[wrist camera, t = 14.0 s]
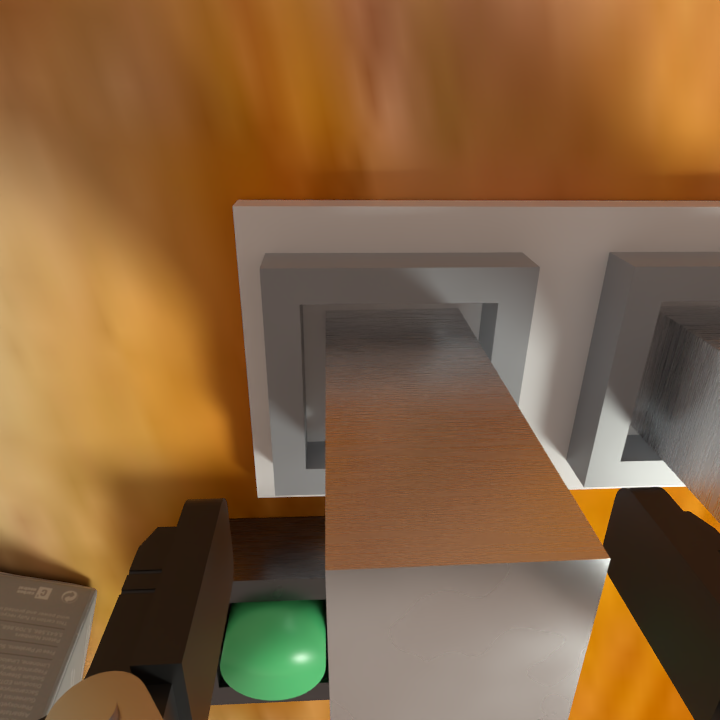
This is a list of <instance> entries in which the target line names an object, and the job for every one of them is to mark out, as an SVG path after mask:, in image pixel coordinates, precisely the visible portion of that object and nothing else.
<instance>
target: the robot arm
mask: <svg viewBox="0 0 720 720" xmlns="http://www.w3.org/2000/svg"><path fill="white" fill-rule="evenodd" d="M603 547H604V549H605V550H606V552H607V554H608V555H609V557H610V563H609V566H608V570H607V573H608V575H609V577H610V579H611V580H612V582H613V584H614V585H615V587H616V589H617V590H618V592H619V594H620V595H621V597H622V599H623V601H624V602H625V604H626V606H627V607H628V609H629V611H630V612H631V614H632V616H633V617H634V619H635V621H636V622H637V624H638V626H639V627H640V629H641V631H642V632H643V634H644V636H645V637H646V639H647V641H648V642H649V644H650V646H651V647H652V649H653V651H654V653H655V654H656V656H657V658H658V659H659V661H660V663H661V664H662V666H663V668H664V669H665V671H666V673H667V674H668V676H669V678H670V679H671V681H672V683H673V684H674V686H675V688H676V689H677V691H678V693H679V694H680V696H681V698H682V699H683V701H684V703H685V705H686V706H687V708H688V710H689V711H690V713H691V715H692V716H693V718H694V720H720V533H719V532H718V531H717V530H716V529H715V528H713V527H712V526H710V525H709V524H707V523H706V522H705V521H703V520H702V519H700V518H699V517H697V516H696V515H694V514H693V513H691V512H690V511H683V510H682V509H681V508H680V507H679V506H678V505H677V503H676V502H675V501H674V500H673V499H672V498H671V496H670V495H669V494H668V493H667V492H666V491H665V490H664V489H662V488H660V487H632V488H621V489H620V490H619V491H618V492H617V494H616V497H615V500H614V504H613V508H612V512H611V516H610V520H609V523H608V527H607V531H606V535H605V539H604V543H603ZM233 569H234V562H233V550H232V541H231V532H230V523H229V514H228V506H227V501H226V499H225V498H220V499H188V500H187V501H186V502H185V504H184V507H183V510H182V513H181V516H180V519H179V522H178V524H177V527H158V528H157V529H156V530H155V531H154V532H153V533H152V534H151V535H150V536H149V537H148V538H147V539H146V540H145V541H144V542H143V543H142V545H141V546H140V547H139V548H138V551H137V553H136V555H135V558H134V560H133V563H132V565H131V568H130V570H129V575H127V578H126V580H125V582H124V585H123V587H122V593H121V595H119V597H118V600H117V602H116V605H115V607H114V609H113V612H112V614H111V617H110V619H109V622H108V624H107V627H106V629H105V631H104V634H103V636H102V639H101V641H100V644H99V646H98V649H97V651H96V654H95V656H94V658H93V661H92V663H91V666H90V668H89V670H88V672H87V675H86V677H85V678H84V680H82V681H80V682H79V683H77V684H76V685H74V686H73V687H71V688H70V689H69V690H68V691H67V692H65V693H64V694H63V695H62V696H61V697H60V698H59V699H58V700H57V702H56V703H55V704H54V706H53V707H52V708H51V710H50V711H49V713H48V715H46V716H44V717H42V718H41V719H39V720H208V716H209V710H210V705H211V700H212V694H213V689H214V683H215V678H216V672H217V667H218V662H219V656H220V651H221V645H222V640H223V634H224V629H225V624H226V618H227V613H228V607H229V602H230V596H231V591H232V584H233Z"/></svg>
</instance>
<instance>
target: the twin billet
mask: <svg viewBox="0 0 720 720" xmlns="http://www.w3.org/2000/svg"><path fill="white" fill-rule="evenodd" d="M630 425H631V426H632V427H633V428H634V429H635V431H636V432H637V433H638V434H639V435H640V436H641V437H642V438H643V439H644V440H645V442H646V443H647V444H648V445H649V446H650V447H651V448H652V449H653V450H654V451H655V453H656V454H657V455H658V456H659V457H660V458H661V459H662V460H663V461H664V462H665V464H666V465H667V466H668V467H669V468H670V469H671V470H672V471H673V472H674V473H675V474H676V476H677V477H678V478H679V479H680V480H681V481H682V482H683V483H684V484H685V485H686V487H687V488H688V489H689V490H690V491H691V492H692V493H693V494H694V495H695V496H696V498H697V499H698V500H699V501H700V502H701V503H702V504H703V505H704V506H705V507H706V509H707V510H708V511H709V512H710V513H711V514H712V515H713V516H714V517H715V518H716V520H717V521H718V522H719V523H720V306H661V308H660V311H659V315H658V319H657V323H656V327H655V331H654V334H653V338H652V342H651V346H650V350H649V353H648V357H647V361H646V365H645V369H644V373H643V376H642V380H641V384H640V388H639V392H638V396H637V399H636V403H635V407H634V411H633V415H632V419H631V422H630Z"/></svg>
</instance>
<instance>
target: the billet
mask: <svg viewBox="0 0 720 720" xmlns="http://www.w3.org/2000/svg"><path fill="white" fill-rule="evenodd" d="M609 563H610V557H609V555H608V554H607V552H606V550H605V549H604V547H603V545H602V544H601V542H600V541H599V539H598V537H597V536H596V534H595V532H594V531H593V529H592V527H591V526H590V524H589V522H588V521H587V519H586V517H585V516H584V514H583V513H582V511H581V509H580V508H579V506H578V504H577V503H576V501H575V499H574V498H573V496H572V494H571V493H570V491H569V489H568V488H567V486H566V485H565V483H564V481H563V480H562V478H561V476H560V475H559V473H558V471H557V470H556V468H555V466H554V465H553V463H552V461H551V460H550V458H549V457H548V455H547V453H546V452H545V450H544V448H543V447H542V445H541V443H540V442H539V440H538V438H537V437H536V435H535V434H534V432H533V430H532V429H531V427H530V425H529V424H528V422H527V420H526V419H525V417H524V415H523V414H522V412H521V410H520V409H519V407H518V406H517V404H516V402H515V401H514V399H513V397H512V396H511V394H510V392H509V391H508V389H507V387H506V386H505V384H504V382H503V381H502V379H501V378H500V376H499V374H498V373H497V371H496V369H495V368H494V366H493V364H492V363H491V361H490V359H489V358H488V356H487V354H486V353H485V351H484V350H483V348H482V346H481V345H480V343H479V341H478V340H477V338H476V336H475V335H474V333H473V331H472V330H471V328H470V326H469V325H468V323H467V322H466V320H465V318H464V317H463V315H462V313H461V312H460V310H459V308H446V309H390V310H334V311H326V409H325V578H326V607H327V636H328V665H329V694H330V720H568V717H569V713H570V710H571V706H572V702H573V698H574V695H575V691H576V687H577V683H578V680H579V676H580V672H581V668H582V664H583V661H584V657H585V653H586V649H587V646H588V642H589V638H590V634H591V631H592V627H593V623H594V619H595V615H596V612H597V608H598V604H599V600H600V597H601V593H602V589H603V585H604V582H605V578H606V574H607V570H608V566H609Z"/></svg>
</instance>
